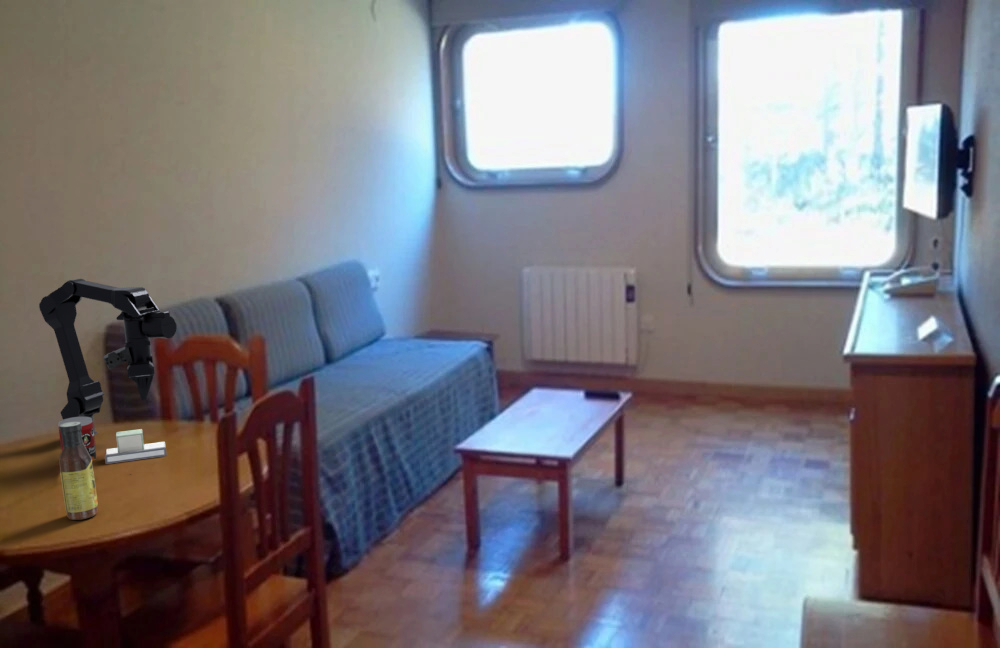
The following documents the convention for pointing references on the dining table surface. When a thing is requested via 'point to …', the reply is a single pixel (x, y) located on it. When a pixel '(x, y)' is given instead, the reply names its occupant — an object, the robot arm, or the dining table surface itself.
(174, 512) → the dining table surface
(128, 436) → the carton
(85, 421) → the canned food
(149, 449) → the shelf
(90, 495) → the sauce bottle
